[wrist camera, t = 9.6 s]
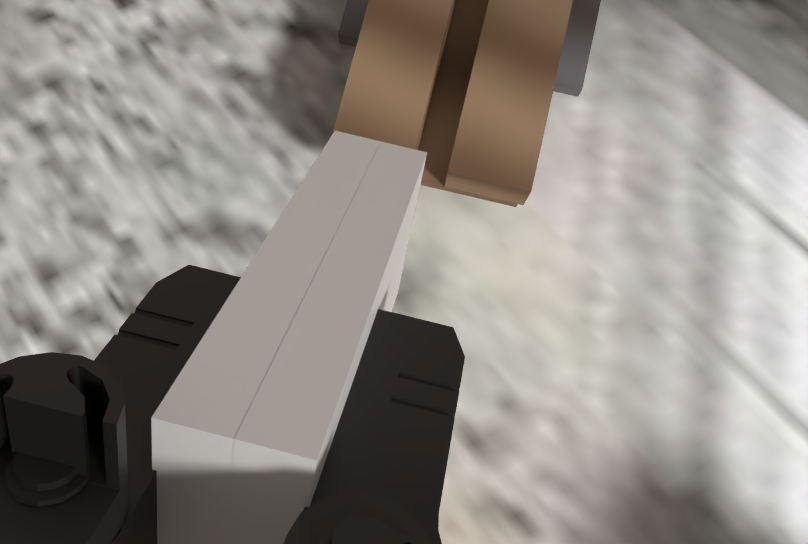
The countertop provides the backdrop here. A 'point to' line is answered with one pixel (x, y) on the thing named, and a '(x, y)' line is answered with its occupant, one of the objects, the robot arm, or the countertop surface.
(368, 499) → the robot arm
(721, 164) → the countertop surface
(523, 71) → the balance beam
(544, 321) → the countertop surface
